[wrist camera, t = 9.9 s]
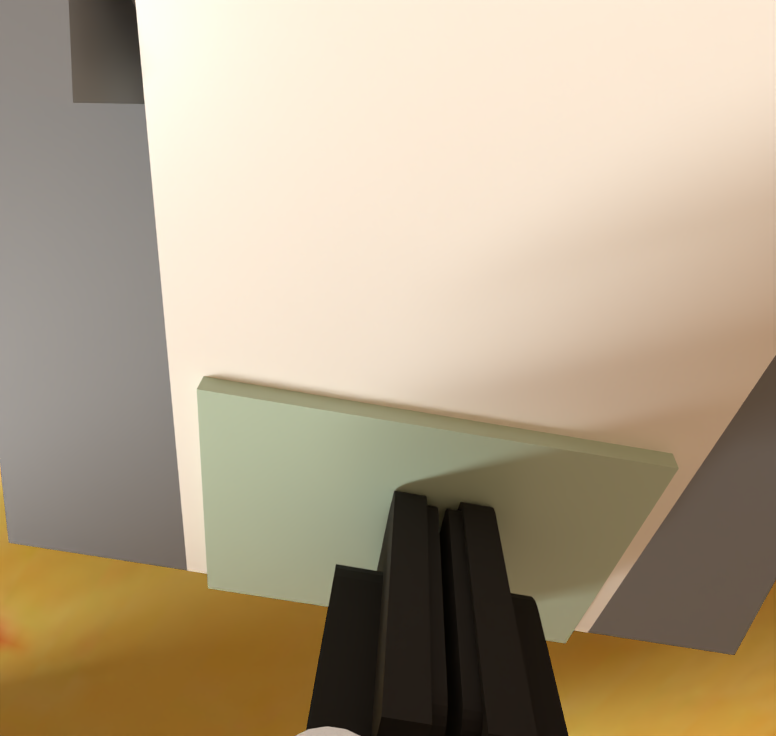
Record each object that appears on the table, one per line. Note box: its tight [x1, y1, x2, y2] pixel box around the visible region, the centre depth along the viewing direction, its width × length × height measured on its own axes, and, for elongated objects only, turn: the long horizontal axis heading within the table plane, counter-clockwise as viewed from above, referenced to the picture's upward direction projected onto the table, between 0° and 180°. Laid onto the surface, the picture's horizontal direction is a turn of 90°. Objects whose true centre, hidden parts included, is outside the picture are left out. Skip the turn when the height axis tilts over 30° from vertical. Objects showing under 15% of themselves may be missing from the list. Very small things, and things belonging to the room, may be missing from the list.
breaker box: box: [0, 0, 776, 655], centre depth 11 cm, size 24×27×11 cm
